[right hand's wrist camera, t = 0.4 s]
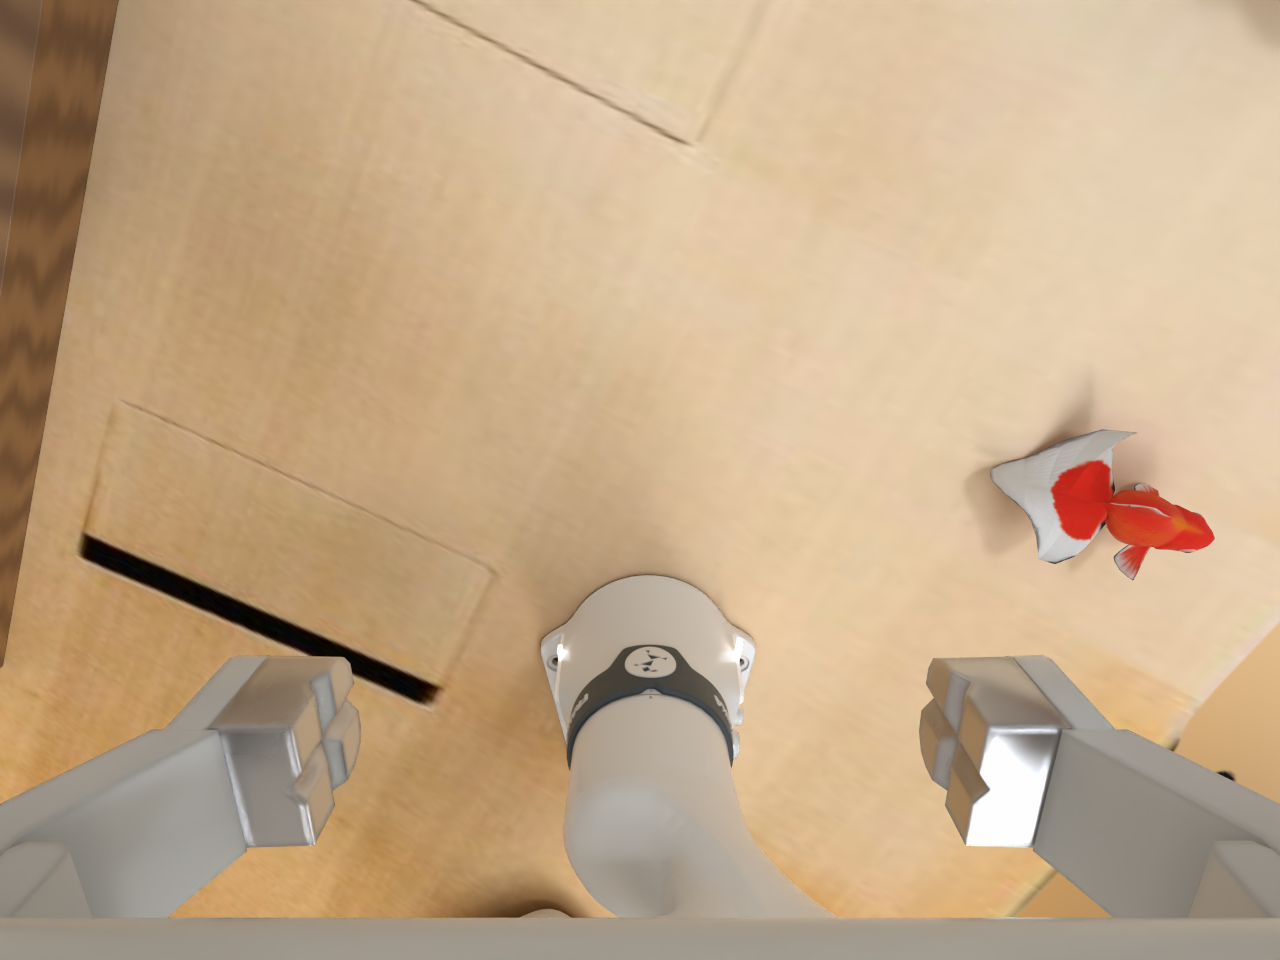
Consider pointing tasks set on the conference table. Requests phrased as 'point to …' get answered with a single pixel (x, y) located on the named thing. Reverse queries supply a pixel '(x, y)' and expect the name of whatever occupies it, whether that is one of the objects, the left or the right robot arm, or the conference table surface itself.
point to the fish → (1095, 503)
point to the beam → (39, 226)
